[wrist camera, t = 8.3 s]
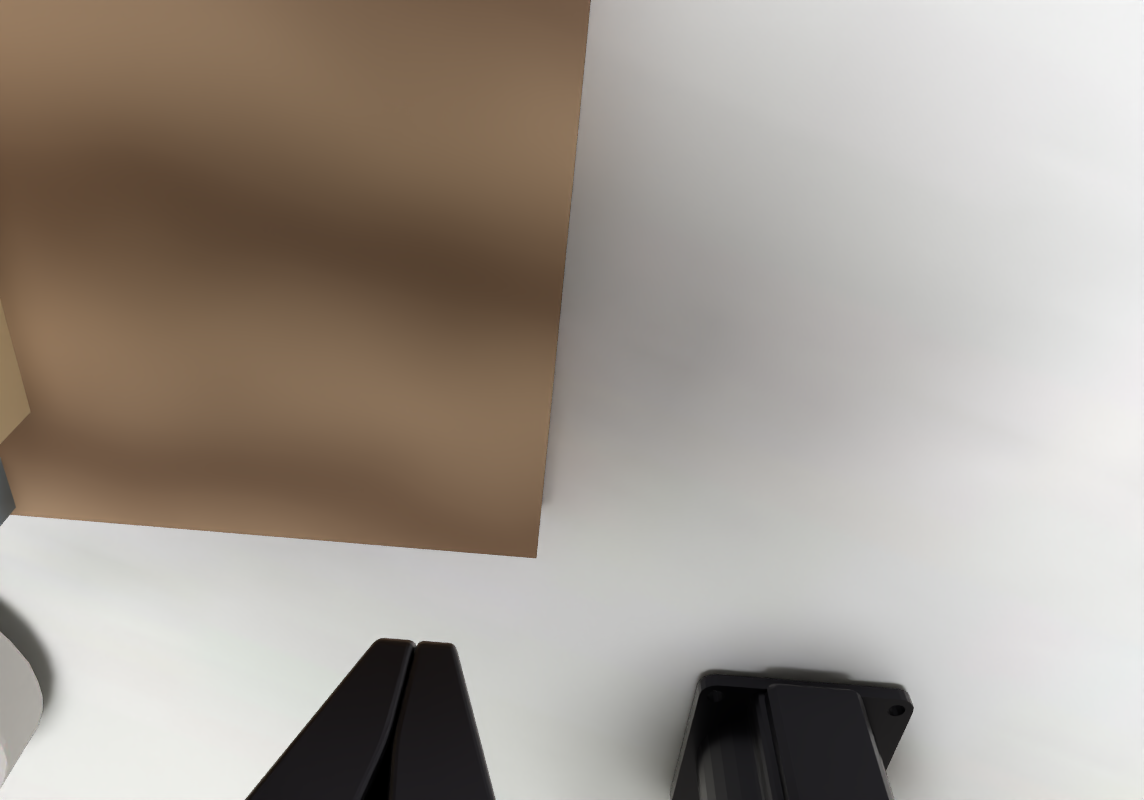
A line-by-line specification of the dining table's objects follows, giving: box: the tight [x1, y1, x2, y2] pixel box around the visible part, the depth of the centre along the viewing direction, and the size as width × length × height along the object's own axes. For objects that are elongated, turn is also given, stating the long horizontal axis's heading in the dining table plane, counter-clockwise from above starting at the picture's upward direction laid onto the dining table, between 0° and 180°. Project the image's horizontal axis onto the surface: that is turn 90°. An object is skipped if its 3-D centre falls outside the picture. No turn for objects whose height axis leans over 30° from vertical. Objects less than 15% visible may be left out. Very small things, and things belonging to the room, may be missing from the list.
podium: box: [0, 0, 591, 558], centre depth 17 cm, size 16×21×4 cm
